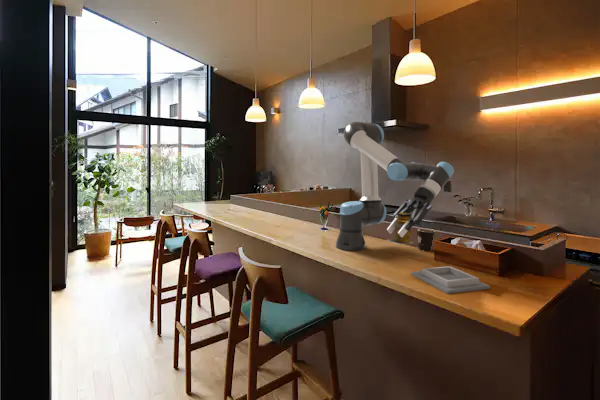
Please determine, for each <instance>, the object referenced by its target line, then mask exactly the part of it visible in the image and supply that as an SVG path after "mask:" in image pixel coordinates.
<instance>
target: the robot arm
mask: <svg viewBox="0 0 600 400" xmlns="http://www.w3.org/2000/svg"><path fill="white" fill-rule="evenodd" d="M343 137H344V140H345V141H346V144H348V145H349V146H351V147H352V148H353V149H357V150H358V151H359V153H360V176H361V179H360V180H361V198H360V199H359V200H353V201H347V202H343V203H341V205H340V211H339V233H338V236H337V238H336V241H335V247H336V248H337V249H339V250H344V251H362V250H365V249H366V241H365V237H364V234H363V231H364V230H363V227H364V226H375V225H377V224H381V223H383V222H384V220H385V219H386V216H387V207H386V206H385V204H384V203H383V202H382V199H381V197H379V178H378V177H379V175H378V174H379V173H378V172H379V171H378V166H380V168H382V169H384V170H385V171H386V174H387V176H388V178H389V179H390V180H392V181H395V182H401V181H421V182H422V183H421V184H420V185H419V187H418V188H417V189H416V190H415V192H414V196H413V198H411V199H407V198H405V200H404V201H403V203H402V204H401V205H400V206H399V208H397V210H396V211H395V212H394V213H393V214H392V216H393V218H394V219H393V220H392V221H391V222H390V225H389V226H388V227H387V228H386V230H387V232H388V233H389V234H390V235H391V234H392V233H393V232H394V231H395V230H396V219H397V216H398V215H397V214H398V213H402V212H403V213H410V214H411V212H412V214H411V218H410V219H408V220H409V221H410V222H409V221H407V222H406V223H405V224H404V225H403V227H402V228H401V229H400V230H399V232H398V234H399V235H400V236H401V237H403V236H404V235H405V234H406V232H407V231H409V230H410V228H411V229H412V227H413V226H415V225H417V226H418V225H420V224H421V222H422V221H423V219H424V218H425V217H426V215H427V213H428V212H429V211H430V210H432V208H433V207H432V204H431V203H432V202H433V200H434V199H435V198H436V196H437V195H438V194H439V193H440V191H441V190H442V189H443V187H444V186H445V185H446V183H447V182H448V181H449V180H450V179H451V178H452V176H453V174H454V173H455V169H454V167H453V166H452V165H451V164H450V163H449V162H446V161H440V162H438V163H437V164H436V165H431V164H426V163H421V162H419V161H415V162H414V161H411V162H410V163H409V162H404V161H403V160H402V159H400V158H399V157H397V156H396V155H394V154H393V153H392V152H391V151H389V150H388V149H386V148H385V147H383V146H382V145H381V144H382V143H383V141H384V138H385V133H384V130H383V128H382V127H381V126H380V124H376V123H373V122H363V121H362V122H361V121H352V122H350V123H349V124H347V125H346V127H345V128H344V130H343Z"/></svg>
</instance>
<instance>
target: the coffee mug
mask: <svg viewBox="0 0 600 400" xmlns="http://www.w3.org/2000/svg"><path fill="white" fill-rule="evenodd" d="M420 229H421V228H417V230H416V232H417V235H418V238H417V247H418V250H419V249H420V250H419V251H422V250H424V251H423V252H431V251H430V250H431V246H432V240H433V235H434V233H435V234H436V230H435V231H434V232H424V231H420ZM429 229H430V230H433V229H431V228H429ZM417 235H416V236H417ZM434 236H435V235H434ZM432 247H433V246H432Z"/></svg>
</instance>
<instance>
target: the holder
mask: <svg viewBox="0 0 600 400" xmlns="http://www.w3.org/2000/svg"><path fill="white" fill-rule="evenodd" d="M410 275H412V276H414V277H415V278H416V279H417V278H418V279H420V280H421V281H422V282H425V283H426V284H428V285H431V286H432V287H434V288H436V289H438V290H439V291H441V292H444V293H445V294H454V293H463V292H465V293H466V292H472V291H474V292H475V291H483V290H489V289H491V285H489V284H488V283H484V282H482V281H480V278H479V277H477V276H475V275H473V274H470V273H467V272H465V271H462V270H461V269H457V268H455V267H453V266H451V265H449V266H448V265H447V266H438V267H426V268H424V267H423V268H420V270H417V271H411V272H410Z"/></svg>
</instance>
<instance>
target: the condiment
mask: <svg viewBox="0 0 600 400" xmlns="http://www.w3.org/2000/svg"><path fill="white" fill-rule="evenodd" d="M397 215H398V216H397V219H396V229H395V230H394V231H395V233H394V239H387V242H390V243H393V244H395V245H407V244H414V243H415V242H413V241H411V233H412V232H411V229H412V227H411V228H410V230H409V231H407V232H406V234H405V235H404V236H403V237H401V236H400V235H399V234H398V232H399V230H400V229H401V228H402V227H403V225H404V224H405V223H406V222H407V221H409V220H408V219H410V218H411V216H412V214H411V212H410V213H403V212H402V213H398V214H397ZM409 222H410V221H409Z"/></svg>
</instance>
